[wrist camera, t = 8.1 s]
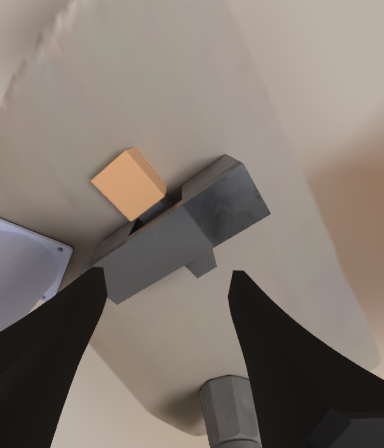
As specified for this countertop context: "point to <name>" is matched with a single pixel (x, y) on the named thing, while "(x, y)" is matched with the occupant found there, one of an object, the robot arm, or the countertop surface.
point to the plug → (142, 196)
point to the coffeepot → (230, 413)
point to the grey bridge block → (180, 229)
